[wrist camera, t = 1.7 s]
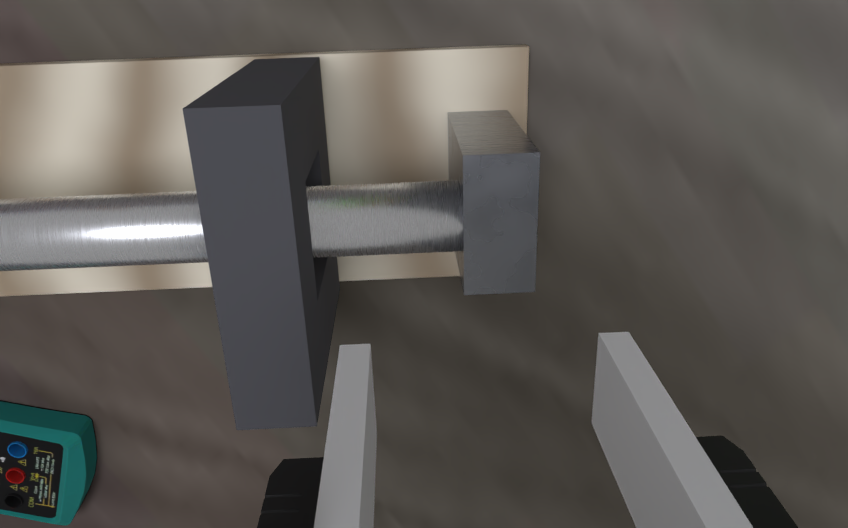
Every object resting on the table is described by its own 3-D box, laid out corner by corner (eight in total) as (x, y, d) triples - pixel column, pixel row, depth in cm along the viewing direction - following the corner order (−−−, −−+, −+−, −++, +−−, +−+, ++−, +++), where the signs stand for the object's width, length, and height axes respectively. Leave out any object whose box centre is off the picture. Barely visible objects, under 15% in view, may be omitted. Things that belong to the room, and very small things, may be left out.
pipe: (507, 109, 35) (541, 154, 27) (505, 222, 37) (536, 295, 29) (-249, 139, 34) (-451, 194, 26) (-201, 252, 36) (-372, 336, 28)
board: (525, 44, 34) (528, 46, 33) (519, 265, 39) (522, 273, 38) (-279, 73, 33) (-298, 76, 33) (-184, 296, 38) (-199, 305, 37)
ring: (319, 56, 32) (280, 104, 21) (339, 289, 37) (316, 426, 26) (254, 59, 32) (182, 108, 21) (283, 291, 37) (236, 430, 26)
